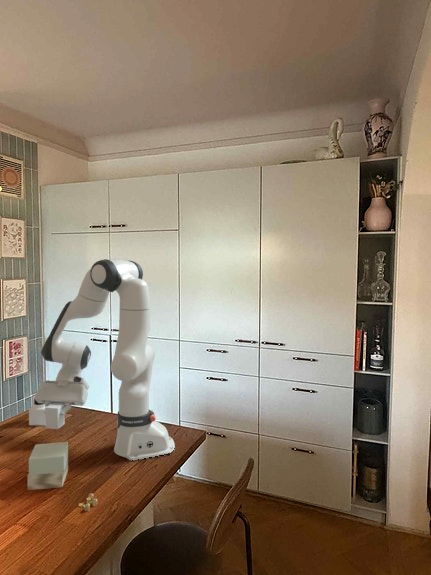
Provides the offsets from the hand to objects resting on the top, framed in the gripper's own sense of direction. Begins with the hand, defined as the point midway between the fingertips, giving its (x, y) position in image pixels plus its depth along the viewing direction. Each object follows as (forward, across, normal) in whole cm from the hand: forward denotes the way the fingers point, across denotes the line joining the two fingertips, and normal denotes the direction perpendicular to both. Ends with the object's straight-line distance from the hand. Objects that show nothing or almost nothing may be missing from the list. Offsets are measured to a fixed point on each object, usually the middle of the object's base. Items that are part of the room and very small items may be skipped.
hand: (54, 414), depth 151 cm
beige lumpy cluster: (+33, +31, -16) cm, 48 cm away
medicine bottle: (-4, -16, +20) cm, 26 cm away
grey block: (+3, 0, +4) cm, 5 cm away
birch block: (+26, +12, -9) cm, 30 cm away
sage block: (+22, +12, -13) cm, 28 cm away
